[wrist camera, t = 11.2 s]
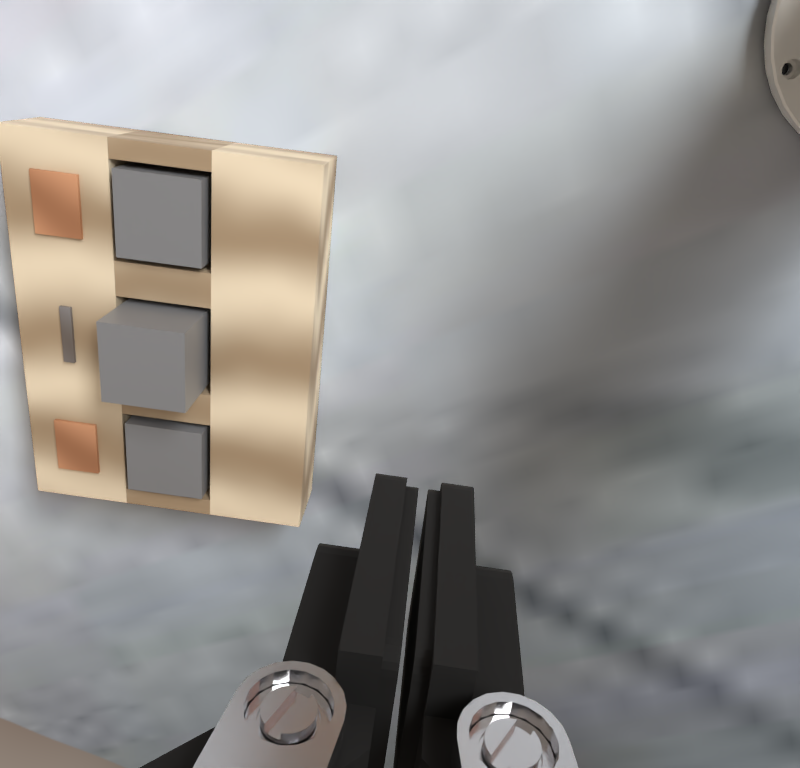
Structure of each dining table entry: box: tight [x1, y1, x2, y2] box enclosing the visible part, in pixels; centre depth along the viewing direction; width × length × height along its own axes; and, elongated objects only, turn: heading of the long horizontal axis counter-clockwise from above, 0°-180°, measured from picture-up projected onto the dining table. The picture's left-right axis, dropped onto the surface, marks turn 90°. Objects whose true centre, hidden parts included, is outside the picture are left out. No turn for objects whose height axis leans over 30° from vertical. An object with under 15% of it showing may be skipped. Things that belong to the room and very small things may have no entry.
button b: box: [96, 298, 210, 413], centre depth 37 cm, size 4×4×4 cm
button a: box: [111, 162, 212, 269], centre depth 37 cm, size 4×4×4 cm
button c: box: [125, 415, 210, 499], centre depth 42 cm, size 4×4×4 cm
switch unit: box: [0, 117, 337, 527], centre depth 40 cm, size 21×16×4 cm
